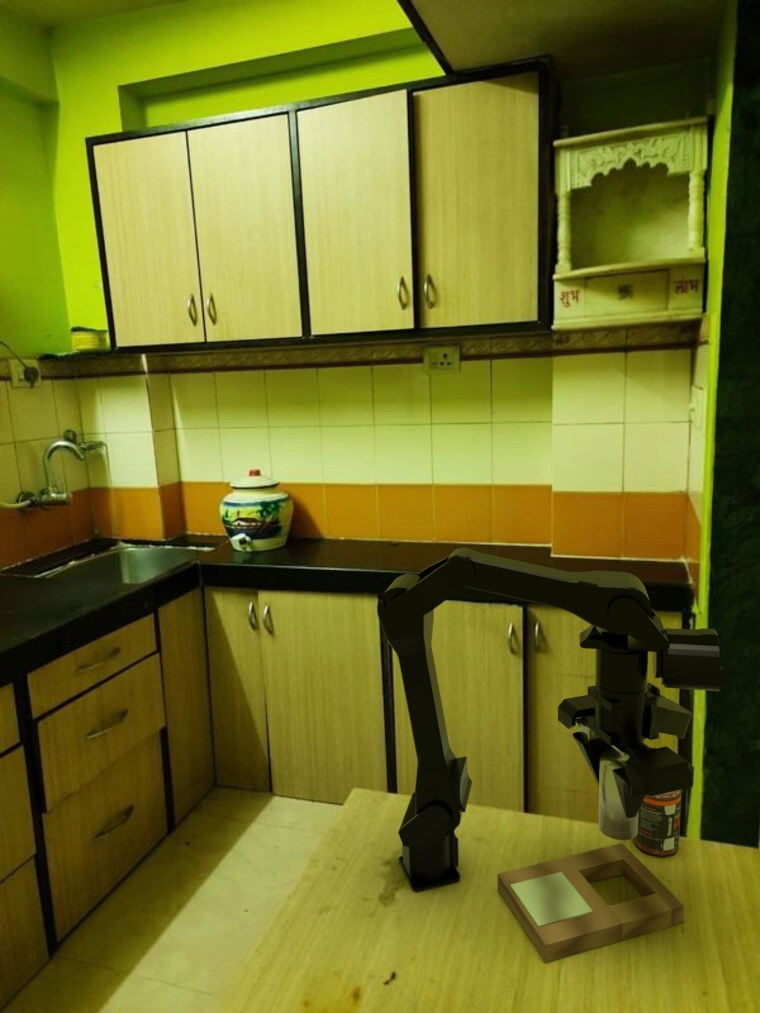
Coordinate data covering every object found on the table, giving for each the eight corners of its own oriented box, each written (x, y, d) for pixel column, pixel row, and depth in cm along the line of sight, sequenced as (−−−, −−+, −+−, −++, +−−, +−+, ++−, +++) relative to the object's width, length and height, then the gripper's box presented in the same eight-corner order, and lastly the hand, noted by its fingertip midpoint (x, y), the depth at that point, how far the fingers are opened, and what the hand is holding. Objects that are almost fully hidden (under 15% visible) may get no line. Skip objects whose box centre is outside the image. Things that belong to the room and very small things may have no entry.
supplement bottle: (683, 860, 93) (686, 781, 91) (635, 855, 94) (637, 778, 92) (674, 832, 99) (677, 757, 97) (629, 828, 100) (631, 754, 98)
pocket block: (545, 962, 78) (545, 943, 77) (497, 889, 89) (497, 872, 89) (683, 922, 83) (684, 904, 82) (621, 857, 94) (622, 841, 94)
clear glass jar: (612, 843, 83) (614, 773, 81) (591, 821, 87) (592, 753, 85) (645, 835, 84) (647, 765, 82) (622, 813, 88) (624, 747, 86)
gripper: (739, 705, 75) (732, 838, 78) (631, 645, 93) (628, 754, 96) (649, 723, 72) (645, 860, 75) (555, 657, 90) (555, 770, 93)
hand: (618, 805), depth 85 cm, fingers closed on clear glass jar, 4 cm apart
